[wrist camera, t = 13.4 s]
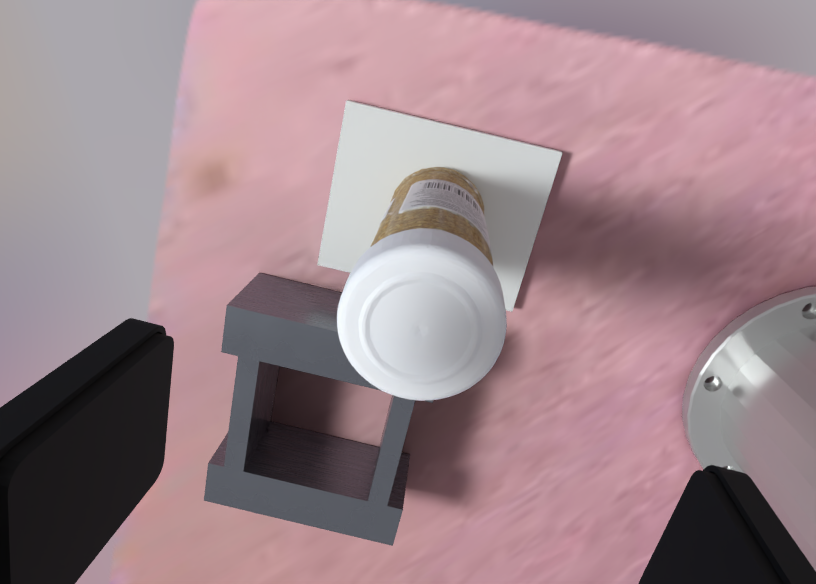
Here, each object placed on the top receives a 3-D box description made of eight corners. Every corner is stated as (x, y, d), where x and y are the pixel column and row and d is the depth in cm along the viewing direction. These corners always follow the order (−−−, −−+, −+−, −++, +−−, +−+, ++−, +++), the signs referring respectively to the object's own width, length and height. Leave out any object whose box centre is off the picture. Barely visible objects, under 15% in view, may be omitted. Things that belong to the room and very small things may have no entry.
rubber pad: (560, 150, 27) (562, 152, 26) (511, 307, 30) (512, 311, 29) (348, 99, 27) (346, 100, 26) (320, 261, 30) (317, 264, 29)
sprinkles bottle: (370, 216, 28) (298, 334, 15) (434, 143, 27) (411, 208, 14) (441, 277, 29) (426, 436, 16) (506, 210, 27) (546, 328, 15)
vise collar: (447, 317, 30) (445, 357, 26) (401, 487, 34) (392, 545, 30) (259, 272, 30) (226, 305, 26) (235, 447, 34) (203, 500, 30)
